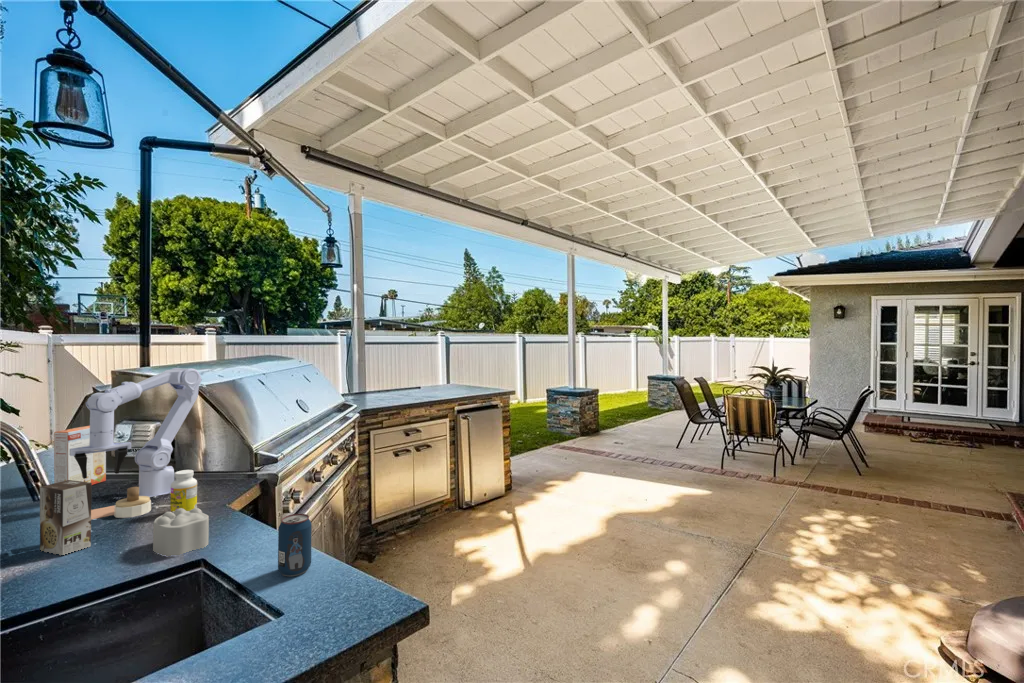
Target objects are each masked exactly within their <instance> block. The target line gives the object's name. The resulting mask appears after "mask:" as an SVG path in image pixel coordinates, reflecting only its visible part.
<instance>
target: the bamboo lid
mask: <svg viewBox="0 0 1024 683" xmlns="http://www.w3.org/2000/svg"><path fill="white" fill-rule="evenodd" d="M150 500H151V497H148V496H139V486H131V487H128V488H127V489H126V498H125V497H124V498H122V499H119V500H117V501H116V502H115V505H116V506H117V507H132V506H138V505H142V504H145V503H147V502H149V501H150Z"/></svg>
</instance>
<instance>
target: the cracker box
mask: <svg viewBox="0 0 1024 683" xmlns="http://www.w3.org/2000/svg"><path fill="white" fill-rule="evenodd" d="M89 441H90V425H86V426H79V427H73V428H67V429H62V430H58V431H54V432H53V454H54V455H53V458H54V459H53V467H54V468H53V471H54V472H53V474H54V476H53V480H54V481H53V482H54V483H58V482H62V481H67V480H73V481H81V482H88V483H92V486H93V485H96V484H100V483H103V482H106V481H107V453H106V452H107V451H105V452H97V453H89V454H85V455H86V457H87V467H86V469H87V478H85V479H83V478H82V472H81V469H80V466H79V464H78V462H77V461H76V459H75V457H74V456H70V455H69V454H70V449H73V448H79V447H86V446H89ZM105 450H106V449H105ZM94 451H98V450H94ZM54 483H53V484H54Z"/></svg>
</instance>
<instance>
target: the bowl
mask: <svg viewBox="0 0 1024 683" xmlns="http://www.w3.org/2000/svg"><path fill="white" fill-rule="evenodd" d="M113 506H114V515H113V516H114V517H115V518H118V519H127V518H134V517H140V516H142V515H146V514H148V513H149V512H151V510H152V500H151V499H150V501H149V502H147V503H145V504H142V505H138V506H132V507H117V506H116V504H114V505H113Z"/></svg>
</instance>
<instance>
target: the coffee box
mask: <svg viewBox="0 0 1024 683" xmlns="http://www.w3.org/2000/svg"><path fill="white" fill-rule="evenodd" d="M92 487H93V485H92V483H88V482H81V481H73V480H67V481H62V482H58V483H51V484H47V485H46V484H45V485H42V486H40V487H39V551H40V550H41V551H40V552H42V551H44V552H43V553H47V552H49V553H48V554H51V553H53V555H56V554H59V555H58V556H61V555H64V556H66V555H65V554H67V555H69V554H68V553H70V554H72V553H71V552H73V553H75V552H74V551H76V552H79V551H81V549H82V550H85V549H87V547H88V548H91V546H92V520H91V510H92V495H93V494H92V490H93V489H92ZM84 548H85V549H84ZM78 550H79V551H78Z"/></svg>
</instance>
